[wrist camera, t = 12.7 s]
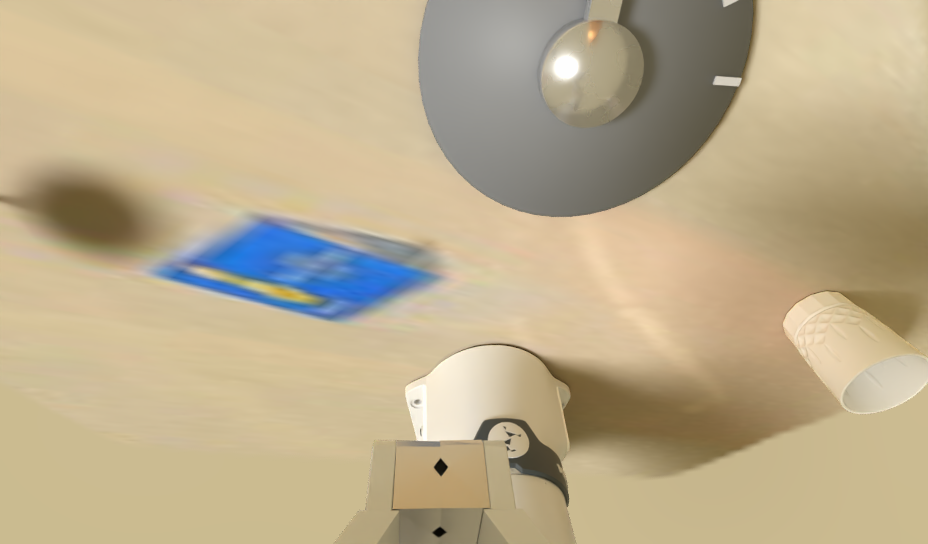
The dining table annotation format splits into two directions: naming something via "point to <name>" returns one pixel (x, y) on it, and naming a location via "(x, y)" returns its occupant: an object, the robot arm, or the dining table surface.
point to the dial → (591, 67)
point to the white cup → (855, 353)
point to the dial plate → (545, 136)
